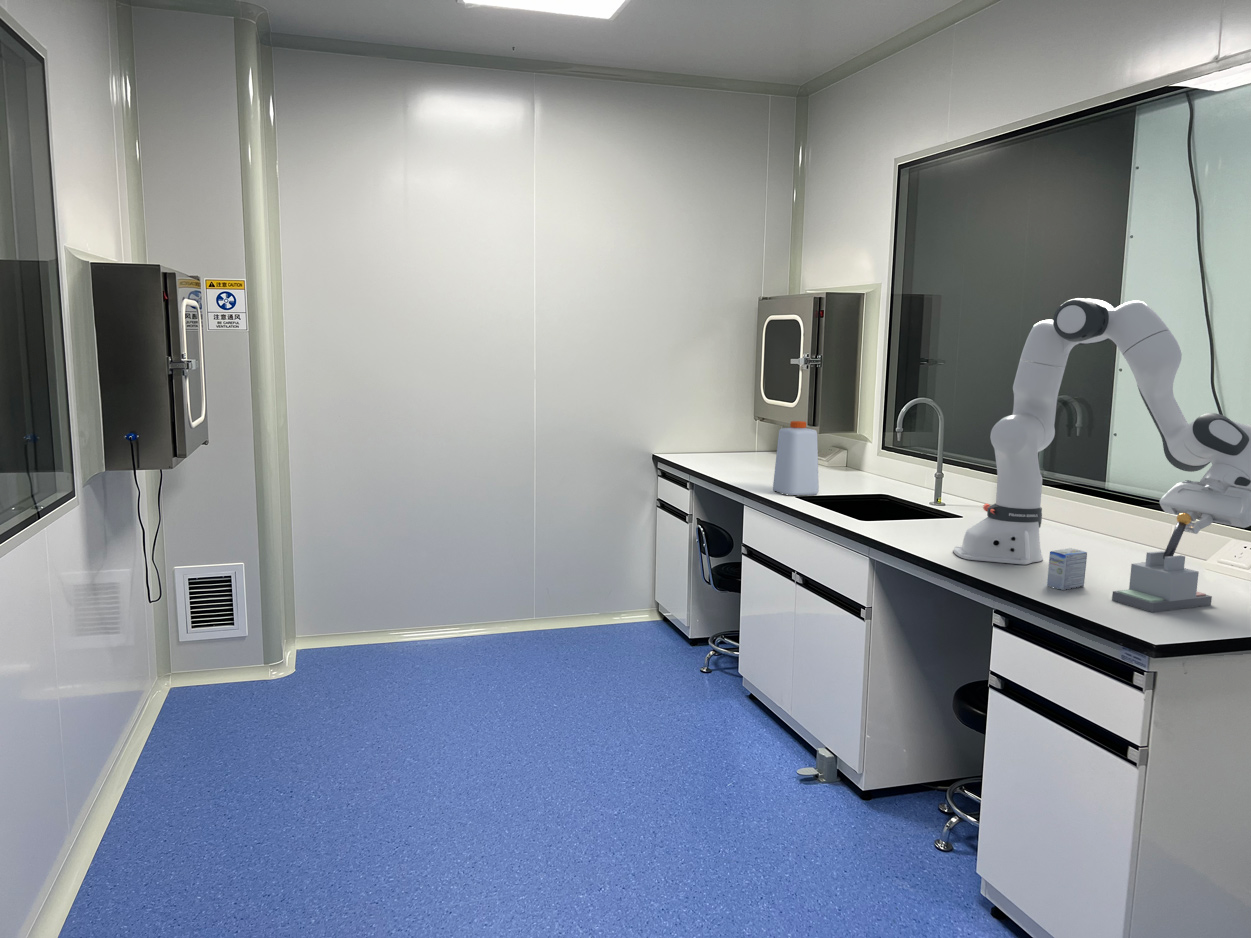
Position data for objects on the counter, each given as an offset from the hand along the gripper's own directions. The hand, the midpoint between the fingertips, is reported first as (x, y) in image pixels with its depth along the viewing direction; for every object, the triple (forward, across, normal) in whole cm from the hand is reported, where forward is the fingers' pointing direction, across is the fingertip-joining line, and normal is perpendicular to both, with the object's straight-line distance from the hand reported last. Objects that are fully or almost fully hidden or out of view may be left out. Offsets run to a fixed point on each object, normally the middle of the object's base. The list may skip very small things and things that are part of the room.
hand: (1188, 531), depth 197 cm
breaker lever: (+9, 0, 0) cm, 9 cm away
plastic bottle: (+15, -157, +8) cm, 158 cm away
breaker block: (+16, 0, +7) cm, 17 cm away
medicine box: (+23, -17, 0) cm, 29 cm away
